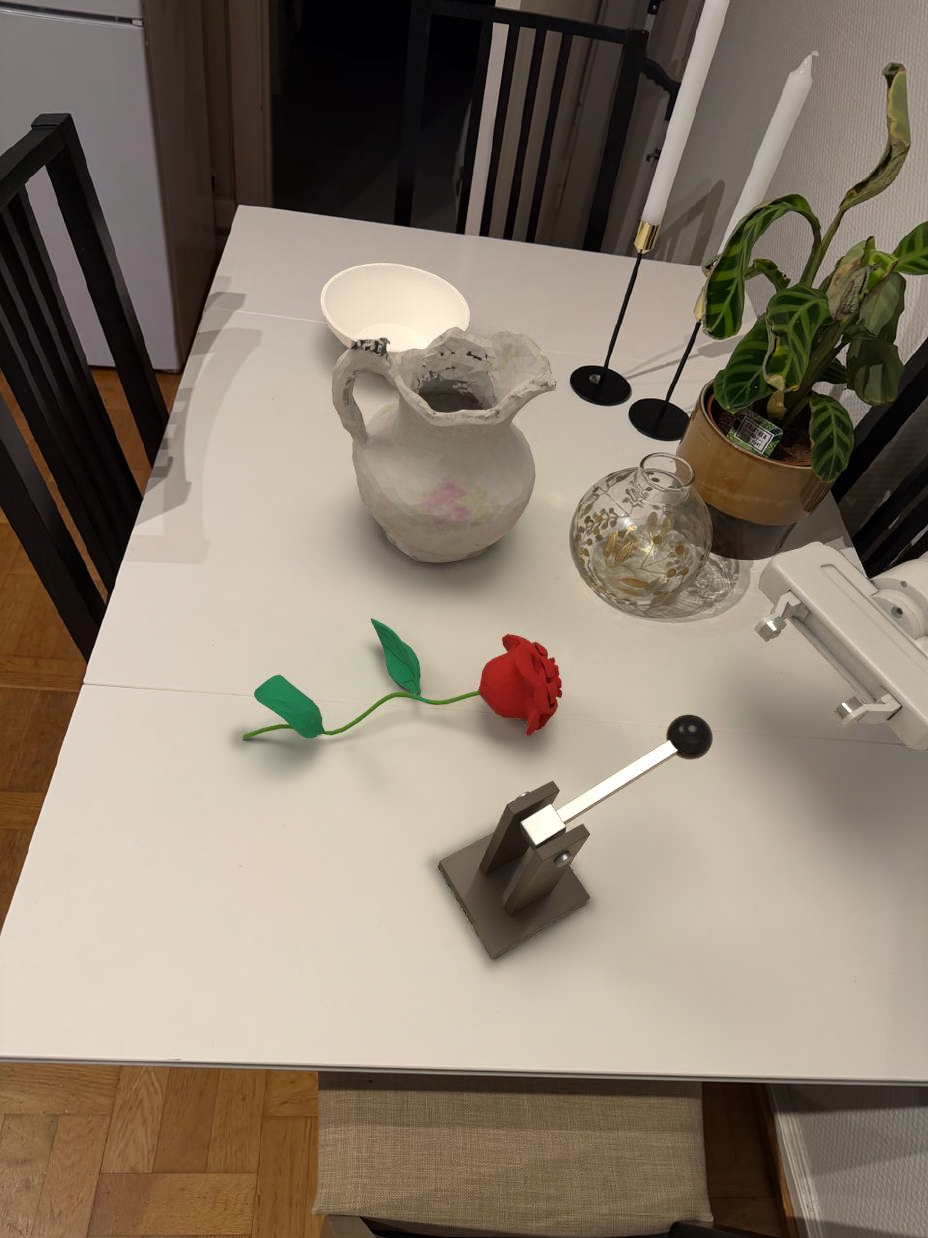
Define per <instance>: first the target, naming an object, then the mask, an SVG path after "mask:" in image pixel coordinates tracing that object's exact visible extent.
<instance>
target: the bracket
mask: <svg viewBox="0 0 928 1238" xmlns="http://www.w3.org/2000/svg"><path fill="white" fill-rule="evenodd" d="M560 792H561V790H560V788H559V786H557V783H556V782H555V781H554V780H551V781H548V782H546V783H545V784H543V785H541V786H539V787H537V788H535V789H533V790H532V791H525V792H523V793H521V794H519V795H518V796H517V797H516V798H515V799H514V800H512V801H511V802H508V803H506V805H505V807H504V810H503V812H502V814H501V816H500V818H499V821H498V823H497V825H496V828H495V830H494V831H493V832H492V833H490V834H488V835H486V836H484V837H482V838H480V839H478V840H477V841H475V842H472V843H471V844H469V845H467V846H465V847H463V848H461V849H459V850H458V851H456V852H454V853H451V854H450V855H448V856H447V857H444V858H442V859H441V860H439V862H438V865H437V867H438V869H439V870H440V872H441V874H442V875H443V877H444V879H445V881H446V882H447V884H448V886H449V887H450V889H451V891H452V893H453V894H454V896H455V898H456V899H457V901H458V903H459V905H460V906H461V908H462V910H463V911H464V913H465V915H466V916H467V919H468V920H469V923H471V925H472V927H473V929H474V930H475V932H476V934H477V936H478V937H479V939H480V940H481V942H482V944H483V946H484V947H485V949H486V951H487V953H488V955H489V956H490V958H491V959H492V960H493V959H495V958H496V957H498V956H499V955H501V954H503V953H505V952H506V951H508V950H510V949H511V948H513V947H515V946H516V945H518V944H520V943H521V942H523V941H525V940H526V939H528V938H529V937H531V936H533V935H534V934H536V933H538V932H540V931H541V930H543V929H545V928H546V927H548V926H550V925H551V924H553V923H555V922H556V921H558V920H560V919H561V918H562V917H563V918H564V916H566V915H568V914H570V913H571V912H573V911H575V910H576V909H578V908H579V907H581V906H583V905H585V904H586V903H588V902H589V900H590V898H591V896H590V894H589V893H588V891H587V890H586V888H585V887H584V885H583V884H582V882H581V881H580V880H579V878H578V877H577V875H576V874H575V872H574V871H573V869H572V867H571V866H570V865H571V864H572V862H573V861H574V859H575V858H576V856H577V855H578V854H579V852H580V850H582V847H583V846H584V844H585V843H586V841H587V840H588V839H589V837H590V836H591V833H590V831H589V830H588V829H587V827H586V825H585V824H584V823H581V824H578V825H577V826H575V827H573V828H571V829H570V830H568V831H566V833H564V834H563V835H561V836H559V837H557V838H555V839H554V840H552V841H550V842H548V843H546V844H545V845H543V846H541V847H539V848H537V849H536V850H535V852H534V851H533V850H532V848H531V847H530V845H529V844H528V842H527V841H526V839H525V837H524V836H523V834H522V833H521V831H520V822H521V821H523V820H524V819H526V818H527V817H529V816H531V815H532V814H534V813H535V812H537V811H539V810H540V809H542V808H543V807H545V806H547V805H548V804H550V803H551V804H552V805H553V804H554V802H555V801H556V799H557V797H558V795H559V793H560Z"/></svg>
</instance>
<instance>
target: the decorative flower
mask: <svg viewBox="0 0 928 1238" xmlns="http://www.w3.org/2000/svg"><path fill="white" fill-rule="evenodd" d="M370 622H371V624H372V626H373V628H374V630H375V633H376V634H377V637H378V639H379V641H380V643H381V647H382V649H383V652H384V656H385V663H386V668H387V671H388V674H389V675H390V677H391V679H393V681H395V682H396V683H397V684H398V685H400V686H402V687H403V688H405V689H406V690H407V691H408V692H404V691H397V692H392V693H389V694H387V695H385V696H384V697H382V698H380V699H379V700H377V701H376V702H375V703H374V704H373V705H371V706H370V707H369V708H368V709H366V711H364V712H363V713H362V714H360V715H359V716H357V718H355V719H353V720H352V721H351V722H349V723H347V724H345V725H343V726H342V727H340V728H336V729H333V730H325V728H324V725H323V716H322V713H321V710H320V707H318V705H317V704H316V703H315V702H314V701H313V700H312V699H311V698H310V697H308V696H307V694H305V693H304V692H303V691H301V690H300V689H299V688H297V687H296V686H295V685H293V684H292V683H291V682H290V681H289V680H287V678H286V677H284V676H283V675H281V674H275V675H274V676H272V677H269V678H268V679H266V680H265V681H264V682H263V683H262V684H260V685H259V686H258V687H257V688H256V689H254V692H253V697H254V698H255V699H256V701H257V702H258V703H260V704H261V705H263V706H265V707H266V708H267V709H269V710H270V711H272V712H274V713H275V714H276V715H278V716H279V717H280V718H282V719H283V720H284V721H285V722H286V723H278V724H273V725H270V726H264V727H262V728H259V729H255V730H253V731H250V732H248V733H245V734H243V735H242V740H245V739H249V738H251V737H254V736H257V735H260V734H264V733H267V732H272V731H276V730H277V731H278V730H286V729H287V730H294V731H295V732H296V733H298V735H300V736H301V737H302V738H305V739H311V740H312V739H316V738H317V737H318V736H319V735H320V736H321V735H325V736H335V735H338V734H342V733H344V732H345V731H347V730H349V729H351V728H352V727H354V726H355V725H358V723H361V722H362V721H363V720H364V719H365V718H366V717H367V716H369V715H371V713H372V712H374V711H375V710H377V708H378V707H380V706H381V705H383V704H384V703H386V702H387V701H389V700H392V699H395V698H409V699H412V700H416V701H418V702H422V703H424V704H428V705H432V706H442V705H450V704H452V703H456V702H460V701H462V700H466V699H469V698H473V697H477V696H479V697H481V699H482V700H483V701H484V702H485V704H487V706H488V707H489V708H490V709H491V710H492V711H493V713H494V714H495V715H497V716H499V717H502V718H503V719H515V720H516V719H518V720H521V721H525V722H526V724H527V727H526V729H525V736H526V737H527V738H528V737H530V736H532V735H533V734H534V733H535V732H537V731H540V730H541V729H542V728H544V727H545V726H546V725H547V723H548V722H549V720H550V719H551V718H552V717H553V716H554V715H555V713H556V712H557V710H558V708H559V703H558V699H557V698H559V699H561V698H562V697H563V690H562V689H561V688H562V686H563V682H562V679H561V678H560V676H559V675H560V671H559V670H560V669H559V668H560V667H559V665H558V664H556V658H555V656H553V657H549V653H548V650H547V648H545V647H544V646H543V645H542V643H541V644H540V643H539V642H537V641H533V642H531V641H530V640H529V639H527V638H525V637H523V636H519V635H517V634H511V633H507V634H505V635H503V636H502V637H501V641H502V646H503V648H504V649H505V651H506V652H505V653H502V654H500V655H498V656H496V657H493V658H491V659H490V660H489V661H488V662H486V663H485V665H484V667H483V669H482V670H481V677H480V682H479V687H478V689H477V690H475V691H471V692H467V693H465V694H462V695H458V696H455V697H452V698H448V699H441V700H440V699H439V700H438V699H436V700H435V699H428V698H424V697H423V696H422V695H421V693H422V689H421V666H420V659H419V658H418V655H417V654H416V652H415V651H414V650H413V648H412V647H410V645H408V644H407V643H406V642H405V641H403V640H402V639H401V637H400V636H399V635H398V634H397V633H396V631H394V630H393V629H392V628H391V627H389V626H388V625H386V624H385V623H383V622H380V621H379V620H377V619H375V618H372V617H370ZM548 657H549V658H548Z"/></svg>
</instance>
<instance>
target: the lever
mask: <svg viewBox="0 0 928 1238" xmlns="http://www.w3.org/2000/svg"><path fill="white" fill-rule="evenodd" d="M713 737H714V736H713V731H712V728H711V726H710V724H709V723H708V722H707V721H706V720H705V719H703V718H702V717H701V716H698V715H695V714H689V713H688V714H682V715H679V716H677V717H676V718H675V719H673V720H672V721H671V722H670V724H669V725H668V727H667V729H666V734H665V738H666V741H665V742H663V743H662V744H660V745H658V746H657V747H655V748H654V749H652V750H651V751H649V752H647V753H645V755H643V756H641V757H639V758H638V759H636V760H635V761H633V762H631V763H630V764H628V765H626V766H624V768H621V769H620V770H619V771H617V772H616V773H613V774H612V775H610V776H609V777H607V778H606V779H604V780H603V781H601V782H599V783H598V784H596V785H594V786H593V787H591V788H590V789H588V790H587V791H585V792H583V793H581V794H580V795H579V796H577V797H576V798H573V799H572V800H570V801H569V802H567V803H566V804H564V805H563V806H561V807H559V808H558V809H555V807H554V806H553V804H551V803H550V804H548V805H547V806H545V807H543V808H542V809H540V810H539V811H537V812H535V813H534V814H532V815H531V816H529V817H527V818H526V819H524V820H523V821H521V822H520V831H521V833H522V834H523V836H524V837H525V839H526V841H527V842H528V844H529V845H530V847H531V848H532V850H533V851H534V852H535V850H536V849H537V848H539V847H541V846H543V845H545V844H546V843H548V842H550V841H552V840H554V839H555V838H557V837H559V836H561V835H563V834H564V833H566V832H567V825H568V824H569V823H570V822H572V821H574V820H576V819H577V818H579V817H580V816H582V815H584V814H585V813H586V812H588V811H590V810H591V809H593V808H594V807H596V806H598V805H599V804H601V803H602V802H604V801H606V800H607V799H608V798H611V797H612V796H614V795H615V794H617V793H619V792H620V791H622V790H623V789H625V788H626V787H628V786H630V785H631V784H632V783H634V782H636V781H637V780H639V779H640V778H642V777H644V776H645V775H646V774H647V775H648V773H650V772H651V771H653V770H656V768H658V767H660V766H662V765H663V764H664V763H666V762H668V761H669V760H671V759H672V758H674V757H675V756H677V757H678V758H680V759H683V760H686V761H687V760H688V761H691V760H693V761H695V760H698V759H700V758H702V757H704V756H705V755H706V754H708V752H709V751H710V749H711V747H712V745H713V741H714V738H713Z"/></svg>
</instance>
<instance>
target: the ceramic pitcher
mask: <svg viewBox="0 0 928 1238" xmlns="http://www.w3.org/2000/svg"><path fill="white" fill-rule="evenodd" d="M358 340H359V341H356V342H354V341H352V344H351V347H350V348H347V349H346V350H345V351H344V352H343V353H342V354H341V355H340V356H339V357H338V358H337V360H336V362H335V364H334V367H333V370H332V372H331V373H332V375H331V398H332V404H333V407H334V409H335V411H336V413H337V415H338V417H339V420H340V422H341V425H342V427H343V429H345V430H346V431H347V432H348V433H349V434H350V438H351V439H352V446H351V447H352V453H351V460H352V464H353V467H354V472H355V476H356V483H357V487H358V492H359V495H360V498H361V500H362V502H363V505H364V506H365V508H366V510H367V511H368V513H369V514H370V515H371V516H372V517H373V519H374V520H375V521H376V522H377V524H378V525H379V526H380V527H381V528H382V529H383V530H384V532H385V538H386V539H387V541H389V543H391V544H392V545H393V546H395V547H396V548H397V549H398V550H399V551H401V552H402V553H404V554H405V555H406V556H407V557H409V558H410V559H411V560H413V561H414V562H421V563H422V562H423V563H449V562H456V561H462V560H468V559H471V558H477V557H479V556H480V555H481V554H483V553H484V552H485V551H486V550H488V549H490V548H491V546H492V544H494V543H495V542H497V541H498V540H500V538H502V537H504V536H505V535H506V534H507V533H509V532H510V531H511V530H512V529H513V528H514V527H515V525H516V524H517V523H518V521H519V520H520V518H521V517H522V515H523V514H524V512H525V511H526V508H527V507H528V505H529V502H530V500H531V497H532V494H533V491H534V486H535V482H536V476H537V475H536V463H535V460H534V456H533V453H532V448H531V445H530V444H529V442H528V440H527V438H526V436H525V434H524V432H522V430H521V429H520V428H519V427H518V426H517V425H516V424H515V423H514V422H513V420H514V418H515V417H516V415H517V414H518V413H519V412H520V411H521V410H522V409H523V408H524V407H525V406H526V405H527V404H528V403H529V402H531V401H532V400H533V399H535V398H536V397H538V396H539V395H542V394H545V393H548V392H553V391H557V390H556V389H557V380H556V379H555V378H554V376H553V375H552V373H553V372H552V371H551V364H550V363H551V362H550V360H549V358H548V356H547V354H546V353H545V352H544V351H543V349H542V348H541V347H540V346H539V345H538V344H537V342H536V341H535V340H534V339H533V338H532V337H531V335H530V334H528V333H524V332H521V331H517V330H508V329H507V330H500V331H499V332H497V333H495V334H493V335H492V336H489V337H486V338H481V337H479V336H476V335H473V334H470V333H468V332H467V331H466V332H465V331H463V330H462V329H460V328H458V327H453V328H450V329H448V330H446V331H445V332H444V333H443V334H441V335H440V336H438V337H437V338H435V339H434V340H433V341H432V342H431V343H430V344H429V345H428V347H427V348H425V349H417V348H414V349H409V350H406V351H403V352H399V353H398V354H397V355H396V356H395V357H394V358H393V359H391V357H390V355H389V354H388V352H387V350H386V349H387V344H388V343H389V345H390V341H389V340H388V339H387V338H382V337H380V339H365V340H361V339H358ZM364 372H369V373H372V374H373V373H374V374H377V375H381V376H384V378H385V379H386V380H387V381H388V382H389V384H390V385H391V386H392V388H393V389H394V390H395V391H396V392H397V394H398V400H396V401H394V402H392V403H390V404H387V405H385V406H384V407H382V408H381V409H380V410H378V411H377V412H376V413H375V414H374V415H373V416H372V417H371V418H370V419H369V420H368V421H367V423H365V420H364V416H363V413H362V411H361V409H360V407H359V405H358V403H357V402H356V399H355V397H354V395H353V394H354V387H355V383H356V382H355V381H356V378H357V376H359V374H361V373H364Z"/></svg>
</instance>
